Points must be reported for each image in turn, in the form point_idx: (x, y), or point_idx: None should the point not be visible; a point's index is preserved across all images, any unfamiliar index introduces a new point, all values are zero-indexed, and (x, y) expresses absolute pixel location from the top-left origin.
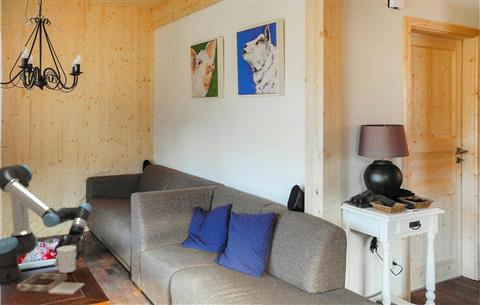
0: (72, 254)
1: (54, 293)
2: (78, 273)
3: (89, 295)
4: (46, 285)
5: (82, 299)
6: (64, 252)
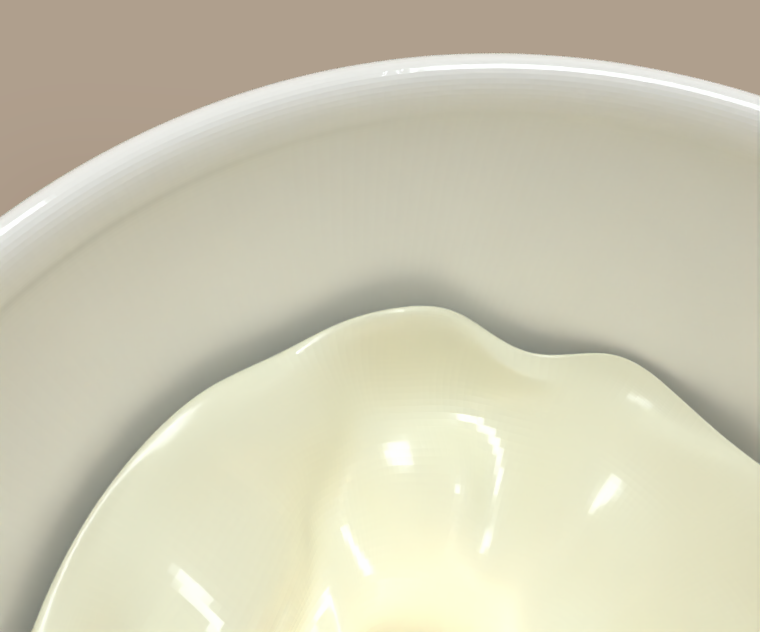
0: (85, 424)
1: None
2: None
3: None
4: None
5: None
6: (430, 124)
